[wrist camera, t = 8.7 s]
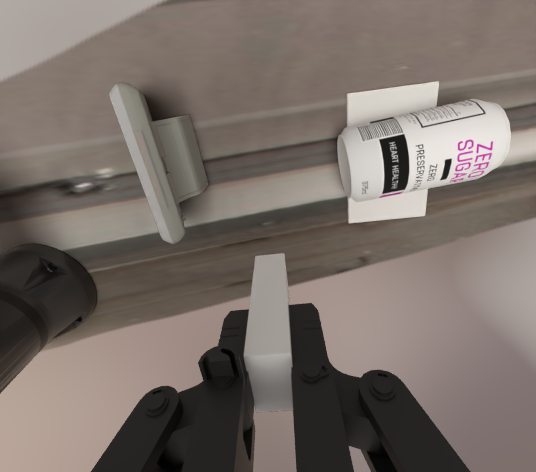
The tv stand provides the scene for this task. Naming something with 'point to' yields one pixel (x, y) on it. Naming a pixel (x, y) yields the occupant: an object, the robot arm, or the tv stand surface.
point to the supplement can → (423, 149)
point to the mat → (381, 107)
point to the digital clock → (161, 158)
